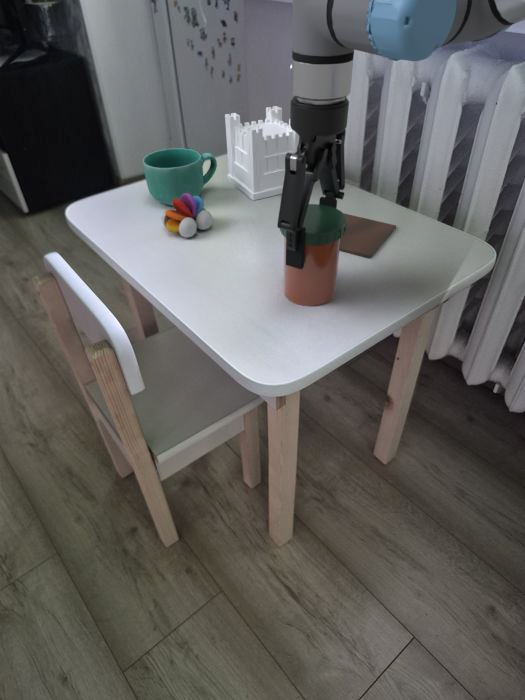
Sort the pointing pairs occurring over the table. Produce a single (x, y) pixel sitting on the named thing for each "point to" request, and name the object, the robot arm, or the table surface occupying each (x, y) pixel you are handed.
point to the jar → (313, 275)
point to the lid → (322, 225)
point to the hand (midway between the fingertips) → (310, 250)
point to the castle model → (259, 153)
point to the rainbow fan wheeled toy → (187, 216)
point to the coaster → (364, 235)
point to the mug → (176, 173)
